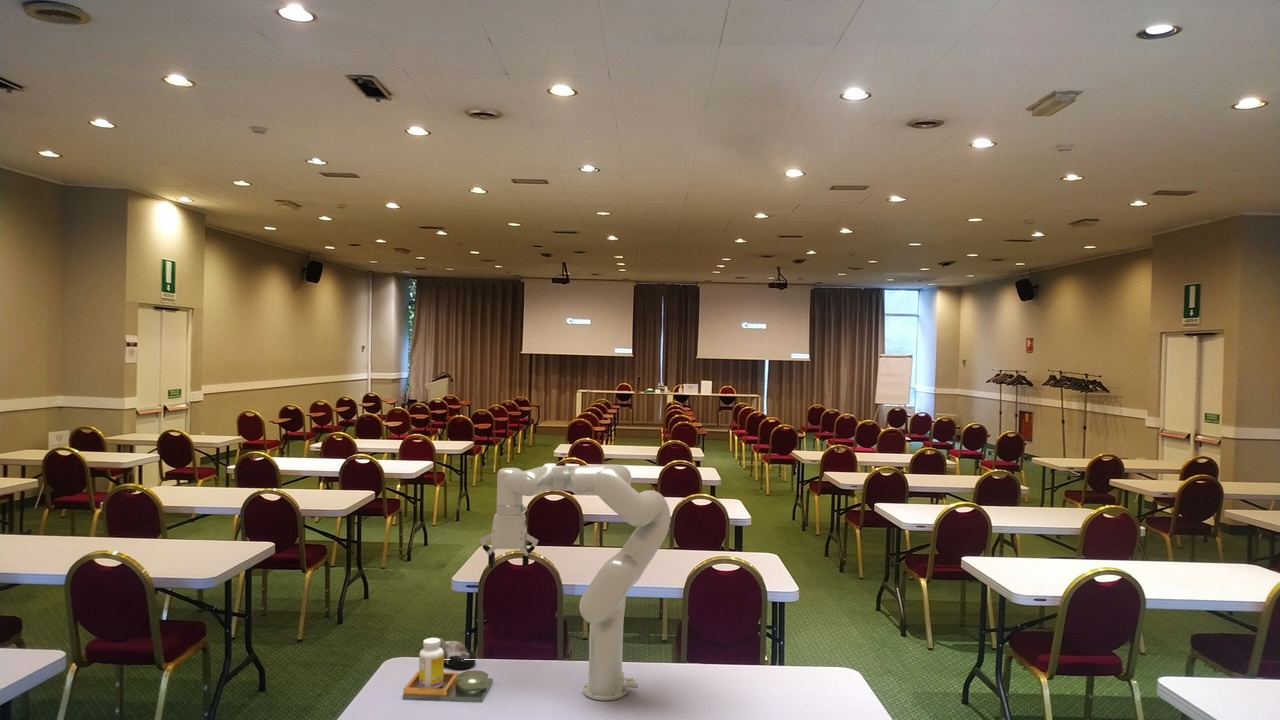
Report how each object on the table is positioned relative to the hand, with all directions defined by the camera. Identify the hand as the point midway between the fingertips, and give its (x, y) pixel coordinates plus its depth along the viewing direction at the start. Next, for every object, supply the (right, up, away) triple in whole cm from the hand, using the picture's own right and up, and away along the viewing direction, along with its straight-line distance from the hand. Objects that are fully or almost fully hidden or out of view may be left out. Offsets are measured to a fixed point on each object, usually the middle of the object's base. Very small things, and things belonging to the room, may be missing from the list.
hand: (508, 567), depth 228 cm
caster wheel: (-17, -32, +9) cm, 38 cm away
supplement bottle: (-20, -31, -10) cm, 38 cm away
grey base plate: (-15, -32, -11) cm, 37 cm away
